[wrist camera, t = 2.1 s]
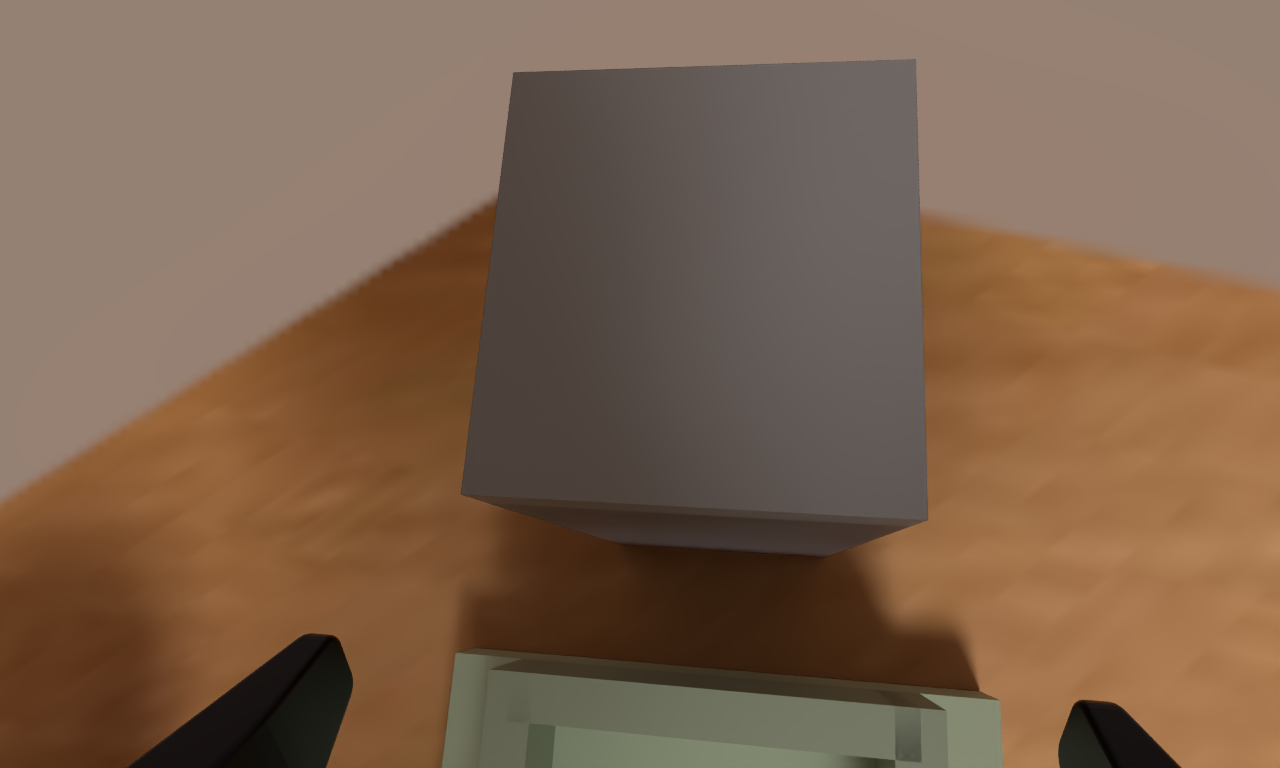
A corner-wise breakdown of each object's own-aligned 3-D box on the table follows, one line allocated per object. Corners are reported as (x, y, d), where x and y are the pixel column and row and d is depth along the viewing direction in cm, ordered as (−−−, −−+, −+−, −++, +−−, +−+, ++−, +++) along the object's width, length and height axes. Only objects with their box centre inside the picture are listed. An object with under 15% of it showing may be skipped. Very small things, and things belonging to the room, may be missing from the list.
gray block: (825, 557, 20) (928, 519, 8) (620, 544, 21) (461, 494, 9) (826, 340, 21) (915, 59, 10) (634, 336, 22) (513, 72, 11)
